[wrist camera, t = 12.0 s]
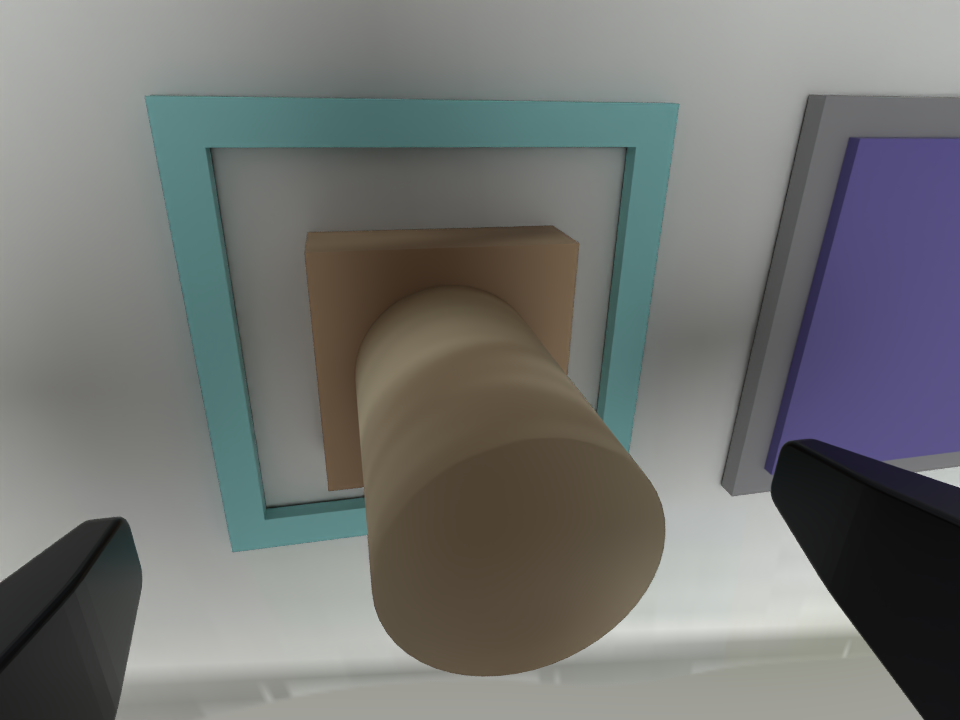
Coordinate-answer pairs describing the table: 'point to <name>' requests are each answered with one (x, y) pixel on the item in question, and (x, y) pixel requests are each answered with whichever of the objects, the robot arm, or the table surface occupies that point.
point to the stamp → (475, 445)
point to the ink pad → (861, 293)
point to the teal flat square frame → (383, 123)
